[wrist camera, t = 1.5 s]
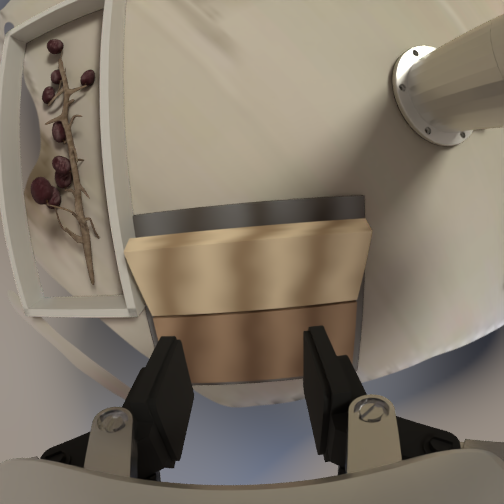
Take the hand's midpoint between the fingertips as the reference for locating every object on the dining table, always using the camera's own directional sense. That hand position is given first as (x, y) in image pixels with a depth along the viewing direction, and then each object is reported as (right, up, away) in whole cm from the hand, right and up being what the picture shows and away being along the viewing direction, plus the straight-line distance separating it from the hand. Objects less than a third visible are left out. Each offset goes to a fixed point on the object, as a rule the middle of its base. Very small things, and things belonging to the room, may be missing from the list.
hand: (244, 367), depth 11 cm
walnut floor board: (+1, -1, +22) cm, 22 cm away
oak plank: (0, +3, +19) cm, 19 cm away
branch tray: (-22, +16, +18) cm, 32 cm away
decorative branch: (-20, +16, +18) cm, 32 cm away
